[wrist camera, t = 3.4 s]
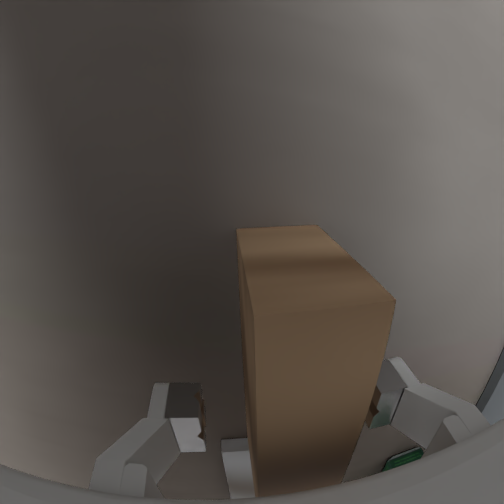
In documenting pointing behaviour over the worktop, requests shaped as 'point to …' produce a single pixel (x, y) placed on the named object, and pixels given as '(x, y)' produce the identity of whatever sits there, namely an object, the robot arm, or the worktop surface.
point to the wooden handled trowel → (303, 359)
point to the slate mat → (494, 395)
